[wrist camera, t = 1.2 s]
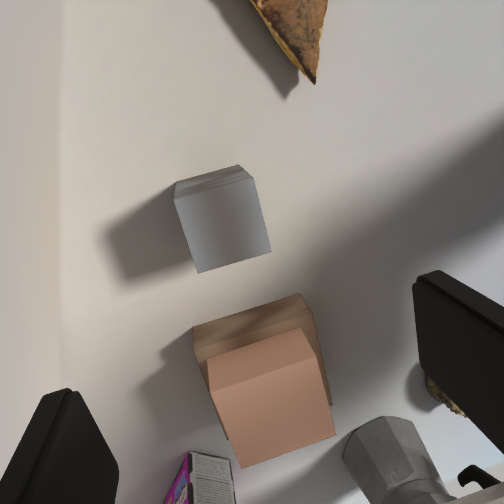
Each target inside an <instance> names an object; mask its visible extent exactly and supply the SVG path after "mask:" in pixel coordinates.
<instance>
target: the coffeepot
mask: <svg viewBox="0 0 504 504" xmlns="http://www.w3.org/2000/svg"><path fill="white" fill-rule="evenodd" d="M342 458H343V460H344V462H345V464H346V466H347V467H348V469H349V471H350V473H351V475H352V477H353V478H354V480H355V481H356V483H357V484H358V486H359V487H360V489H361V490H362V492H363V493H364V495H365V496H366V498H367V499H368V501H369V502H370V504H444V503H447V502H450V501H453V500H455V499H457V498H456V497H453V496H450V495H449V493H448V492H447V490H446V489H445V486H444V484H443V482H442V480H441V478H440V476H439V474H438V472H437V470H436V468H435V466H434V464H433V462H432V460H431V458H430V456H429V454H428V452H427V450H426V448H425V446H424V444H423V442H422V440H421V438H420V436H419V434H418V432H417V430H416V428H415V426H414V424H413V422H411V421H408V420H405V419H401V418H398V417H381V418H377V419H374V420H372V421H370V422H368V423H366V424H364V425H363V426H361V427H360V428H359V429H357V430H356V431H355V432H354V433H353V434H352V436H351V437H350V439H349V440H348V442H347V444H346V447H345V452H344V454H343V456H342ZM458 481H459V483H460V485H461V486H462V487H464V486H465V485H466V484H468V483H469V482H471V481H475V482H477V483H479V485H480V486H481V487H482V488H483V489H486V488H488V487H491V486H494V485H497V484H499V483H502V482H501V481H499V480H497V479H496V478H494V477H493V476H491V475H490V474H488V473H487V472H485V471H484V470H482V469H480V468H479V467H477V466H476V465H470V466H468V467H467V468H465V469H464V470H463V471H462V472H461V473H460V474H459V475H458Z"/></svg>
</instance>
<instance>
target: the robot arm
mask: <svg viewBox="0 0 504 504" xmlns="http://www.w3.org/2000/svg"><path fill="white" fill-rule="evenodd" d="M412 292H413V302H414V312H415V322H416V332H417V342H418V352H419V361H420V364H421V367H422V369H423V370H424V372H425V373H426V374H427V375H428V376H429V377H430V378H431V380H432V381H433V382H434V383H435V384H436V385H437V386H438V387H439V388H440V389H441V390H442V391H443V392H444V393H445V394H446V395H447V396H448V397H449V398H450V399H451V400H452V401H453V402H454V403H455V404H456V405H457V406H458V408H459V409H460V410H461V411H462V412H463V413H464V414H465V415H466V416H467V417H468V418H469V419H470V420H471V421H472V422H473V423H474V424H475V425H476V426H477V427H478V428H479V429H480V430H481V431H482V432H483V433H484V434H485V436H486V437H487V438H488V439H489V440H490V441H491V442H492V443H493V444H494V445H495V446H496V447H497V448H498V449H499V450H500V451H501V452H502V453H503V454H504V307H503V306H501V305H499V304H498V303H496V302H494V301H493V300H491V299H489V298H487V297H486V296H484V295H482V294H480V293H479V292H477V291H475V290H474V289H472V288H470V287H468V286H467V285H465V284H463V283H461V282H460V281H458V280H456V279H455V278H453V277H451V276H449V275H448V274H446V273H444V272H443V271H440V270H436V271H433V272H430V273H427V274H424V275H420V276H418V277H417V280H416V283H414V284H413V286H412ZM118 480H119V469H118V464H117V462H116V460H115V458H114V456H113V454H112V453H111V451H110V449H109V447H108V445H107V443H106V441H105V439H104V437H103V436H102V434H101V432H100V430H99V428H98V426H97V424H96V422H95V420H94V419H93V417H92V415H91V413H90V411H89V409H88V407H87V405H86V404H85V402H84V400H83V398H82V396H81V394H80V393H79V392H78V391H74V392H73V391H72V390H71V389H69V388H65V389H62V390H59V391H55V392H52V393H49V394H46V395H44V396H43V397H42V399H41V401H40V403H39V405H38V407H37V409H36V410H35V412H34V414H33V417H32V418H31V420H30V423H29V424H28V426H27V428H26V430H25V433H24V435H23V437H22V439H21V441H20V443H19V445H18V447H17V449H16V451H15V453H14V455H13V457H12V459H11V461H10V463H9V465H8V467H7V469H6V471H5V473H4V475H3V477H2V479H1V481H0V504H115V498H116V492H117V486H118ZM444 504H504V482H502V483H499V484H497V485H494V486H491V487H488V488H486V489H483V490H480V491H478V492H475V493H472V494H469V495H466V496H464V497H461V498H458V499H455V500H453V501H450V502H447V503H444Z"/></svg>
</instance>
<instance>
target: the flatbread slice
mask: <svg viewBox="0 0 504 504" xmlns="http://www.w3.org/2000/svg"><path fill="white" fill-rule="evenodd" d="M250 1H251V2H252V4H253V5H254V7H255V9H256V10H257V11H258V13H259V14H260V16H261V17H262V19H263V21H264V22H265V24H266V26H267V27H268V29H269V30H270V32H271V34H272V36H273V37H274V39H275V40H276V42H277V43H278V44H279V46H280V47H281V49H282V50H283V52H284V53H285V54H286V55H287V57H288V58H289V59H290V60H291V62H292V63H293V64H295V65H296V66H297V67H298V68H299V69H300V70H301V72H302V73H303V74H304V75H305V76H307V78H308V79H309V80H310V81H311V82H312V83H313V84H314V85H315V84H316V76H317V67H318V61H319V52H320V40H321V33H322V26H323V22H324V17H325V14H326V9H327V4H328V0H250Z"/></svg>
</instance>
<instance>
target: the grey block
mask: <svg viewBox="0 0 504 504" xmlns="http://www.w3.org/2000/svg"><path fill="white" fill-rule="evenodd" d="M173 201H174V204H175V207H176V210H177V213H178V216H179V219H180V222H181V225H182V228H183V231H184V234H185V237H186V240H187V243H188V246H189V249H190V252H191V255H192V258H193V261H194V264H195V267H196V270H197V273H198V274H199V273H202V272H205V271H209V270H212V269H215V268H219V267H222V266H226V265H229V264H232V263H236V262H239V261H243V260H246V259H249V258H253V257H256V256H259V255H263V254H266V253H270V252H272V251H271V247H270V243H269V239H268V235H267V231H266V227H265V223H264V219H263V215H262V211H261V207H260V202H259V198H258V194H257V190H256V186H255V182H254V178H253V177H252V176H251V175H250V174H249V173H248V172H247V171H245V170H244V169H243V168H242V167H241V166H240V165H239V164H238V165H235V166H231V167H228V168H224V169H220V170H217V171H213V172H210V173H206V174H203V175H199V176H195V177H192V178H188V179H185V180H181V181H177V182H176V187H175V193H174V199H173Z"/></svg>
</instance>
